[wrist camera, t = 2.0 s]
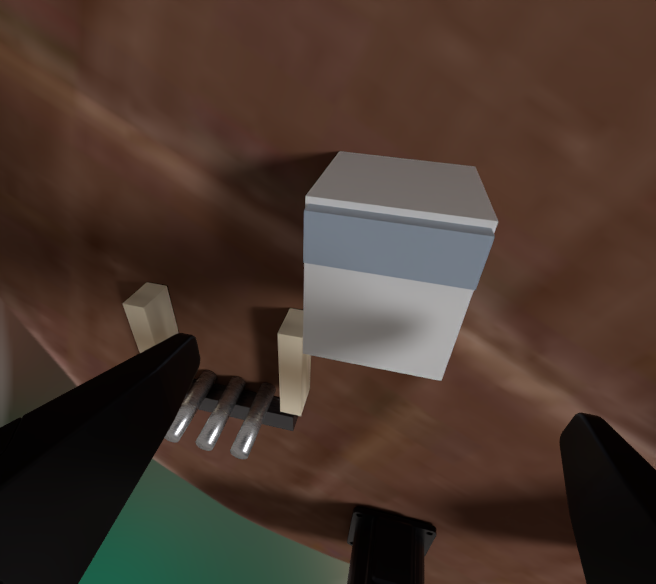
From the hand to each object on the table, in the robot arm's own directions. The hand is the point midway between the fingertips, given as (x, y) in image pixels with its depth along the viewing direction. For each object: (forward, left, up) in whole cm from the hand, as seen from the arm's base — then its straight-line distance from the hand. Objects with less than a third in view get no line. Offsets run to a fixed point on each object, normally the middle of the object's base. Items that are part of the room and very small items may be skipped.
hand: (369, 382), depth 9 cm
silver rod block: (-12, +8, -8) cm, 16 cm away
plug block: (0, 0, -8) cm, 8 cm away
